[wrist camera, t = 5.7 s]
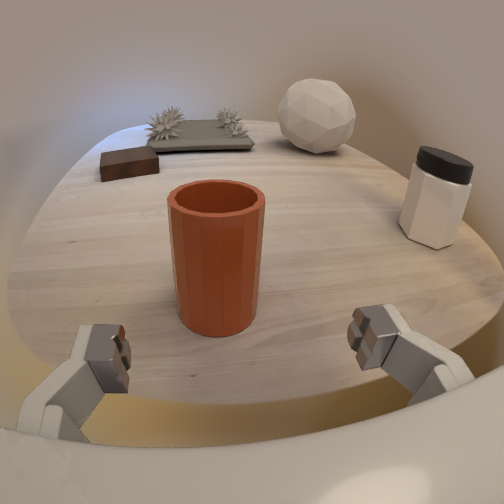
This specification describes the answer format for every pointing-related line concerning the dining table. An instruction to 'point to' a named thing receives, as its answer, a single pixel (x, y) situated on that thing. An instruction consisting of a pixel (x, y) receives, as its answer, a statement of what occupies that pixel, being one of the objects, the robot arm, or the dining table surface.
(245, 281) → the pot
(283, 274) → the dining table surface
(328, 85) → the sphere
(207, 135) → the decorative tray
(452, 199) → the jar
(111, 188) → the dining table surface
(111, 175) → the stand
